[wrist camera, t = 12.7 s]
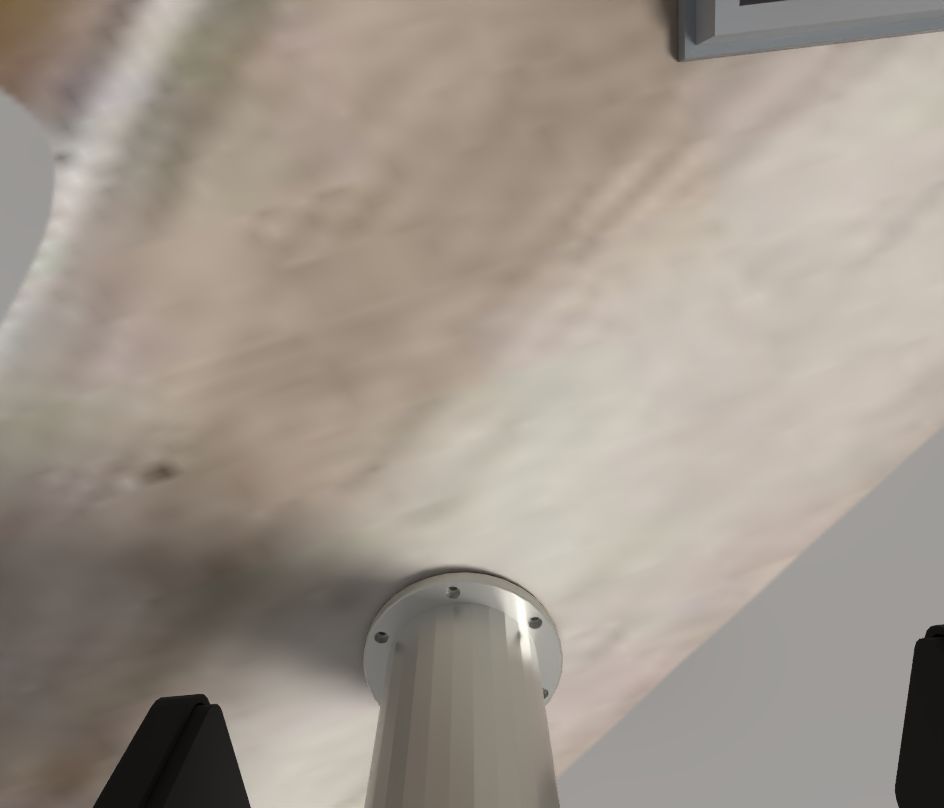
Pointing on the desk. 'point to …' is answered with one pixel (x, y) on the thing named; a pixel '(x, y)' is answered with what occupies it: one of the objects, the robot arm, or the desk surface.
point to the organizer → (796, 24)
